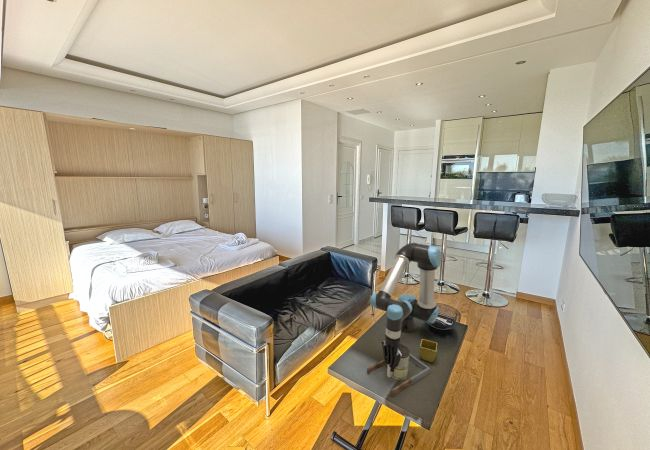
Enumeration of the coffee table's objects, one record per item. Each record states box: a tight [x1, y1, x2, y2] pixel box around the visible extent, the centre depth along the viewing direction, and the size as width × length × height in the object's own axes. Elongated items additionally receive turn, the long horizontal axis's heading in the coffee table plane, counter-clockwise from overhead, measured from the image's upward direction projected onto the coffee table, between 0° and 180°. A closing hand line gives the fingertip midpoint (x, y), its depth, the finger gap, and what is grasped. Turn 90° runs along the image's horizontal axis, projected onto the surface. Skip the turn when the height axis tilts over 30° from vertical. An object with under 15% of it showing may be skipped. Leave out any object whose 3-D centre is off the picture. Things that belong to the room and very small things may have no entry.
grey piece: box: [409, 353, 431, 386], centre depth 143 cm, size 15×18×3 cm
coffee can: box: [391, 343, 411, 381], centre depth 139 cm, size 10×10×14 cm
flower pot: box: [419, 338, 438, 363], centre depth 151 cm, size 9×9×9 cm
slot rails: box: [366, 359, 412, 397], centre depth 136 cm, size 14×18×3 cm
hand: (389, 375), depth 136 cm, fingers closed
